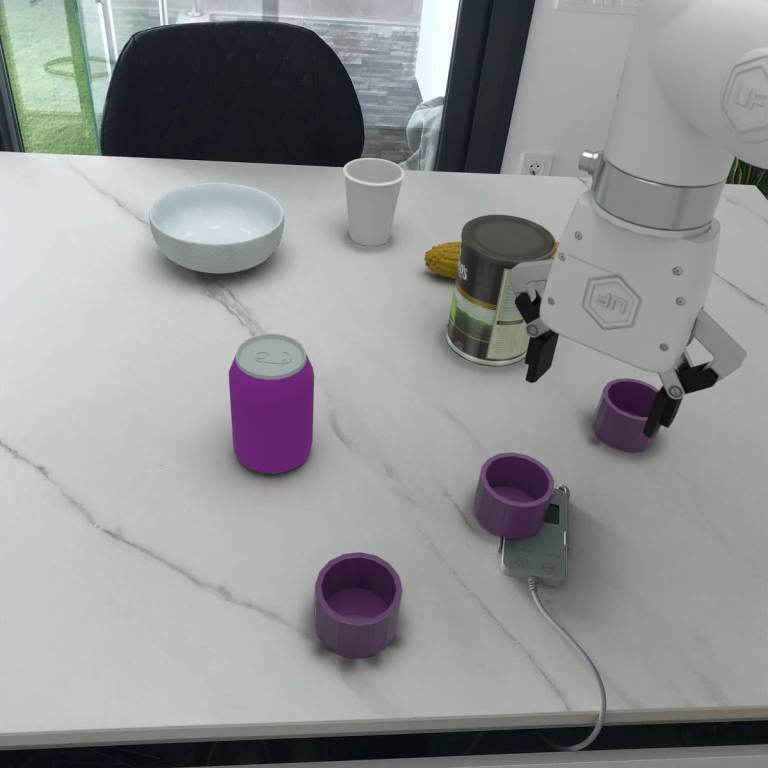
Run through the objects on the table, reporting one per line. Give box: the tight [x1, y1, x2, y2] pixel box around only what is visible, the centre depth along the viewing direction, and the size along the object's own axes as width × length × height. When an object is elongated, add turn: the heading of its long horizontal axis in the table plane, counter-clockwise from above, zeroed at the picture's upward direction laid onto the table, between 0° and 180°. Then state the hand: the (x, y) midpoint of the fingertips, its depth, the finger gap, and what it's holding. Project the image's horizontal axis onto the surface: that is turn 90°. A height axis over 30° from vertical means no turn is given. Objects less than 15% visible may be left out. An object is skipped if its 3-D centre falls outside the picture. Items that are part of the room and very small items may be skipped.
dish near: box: [313, 551, 403, 659], centre depth 61 cm, size 7×7×4 cm
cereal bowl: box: [148, 182, 285, 275], centre depth 101 cm, size 17×17×7 cm
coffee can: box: [445, 214, 557, 367], centre depth 89 cm, size 10×10×14 cm
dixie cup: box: [342, 157, 406, 247], centre depth 108 cm, size 8×8×10 cm
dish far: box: [592, 377, 663, 453], centre depth 81 cm, size 7×7×4 cm
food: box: [423, 240, 560, 285], centre depth 102 cm, size 21×6×6 cm, turn 92°
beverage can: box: [228, 333, 315, 475], centre depth 72 cm, size 8×8×12 cm
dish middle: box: [472, 451, 555, 540], centre depth 71 cm, size 7×7×4 cm
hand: (593, 400), depth 59 cm, fingers open, 9 cm apart
